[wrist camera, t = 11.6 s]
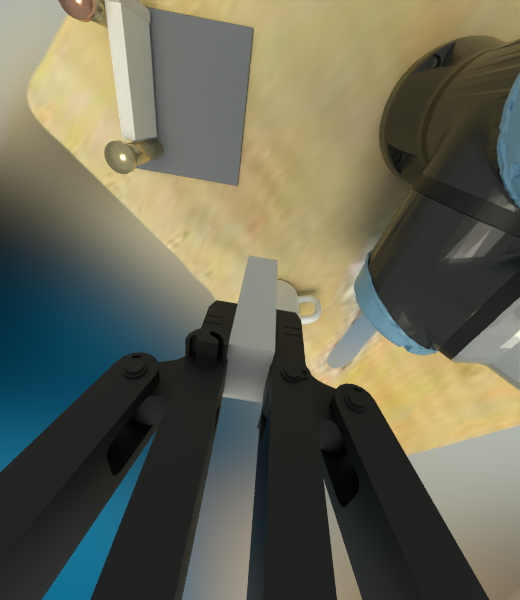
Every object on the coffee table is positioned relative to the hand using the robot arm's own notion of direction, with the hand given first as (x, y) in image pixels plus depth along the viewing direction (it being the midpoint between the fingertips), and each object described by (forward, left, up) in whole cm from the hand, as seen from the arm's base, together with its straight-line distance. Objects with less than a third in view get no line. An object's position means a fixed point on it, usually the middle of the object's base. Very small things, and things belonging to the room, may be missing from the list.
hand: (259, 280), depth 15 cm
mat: (+13, -7, -30) cm, 34 cm away
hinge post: (+17, -1, -30) cm, 35 cm away
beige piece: (+17, -9, -29) cm, 35 cm away
